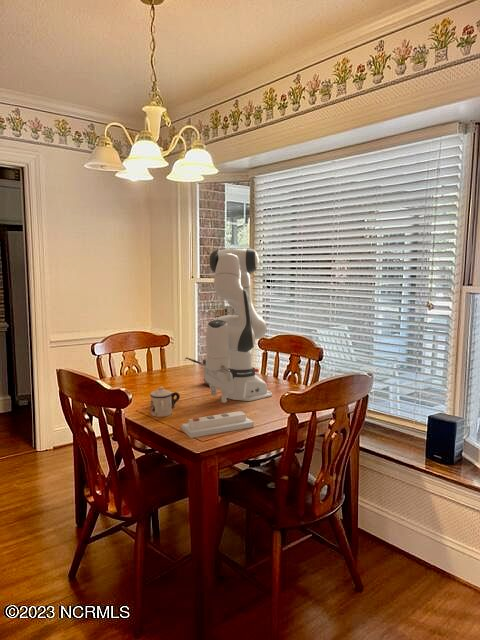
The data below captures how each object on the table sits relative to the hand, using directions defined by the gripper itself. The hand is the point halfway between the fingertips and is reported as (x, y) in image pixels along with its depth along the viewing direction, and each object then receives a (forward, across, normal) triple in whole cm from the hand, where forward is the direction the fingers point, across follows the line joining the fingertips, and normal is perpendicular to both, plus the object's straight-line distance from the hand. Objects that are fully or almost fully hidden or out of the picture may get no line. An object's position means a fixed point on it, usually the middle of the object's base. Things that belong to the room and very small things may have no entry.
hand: (218, 398), depth 175 cm
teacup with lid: (+12, +25, +16) cm, 31 cm away
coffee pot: (+13, +62, -20) cm, 67 cm away
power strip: (+11, 0, +1) cm, 11 cm away
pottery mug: (+12, +35, +10) cm, 39 cm away
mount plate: (+12, 0, +1) cm, 12 cm away
